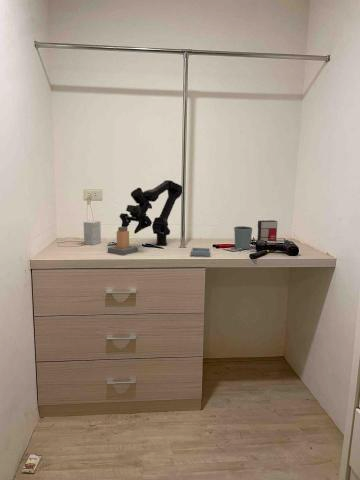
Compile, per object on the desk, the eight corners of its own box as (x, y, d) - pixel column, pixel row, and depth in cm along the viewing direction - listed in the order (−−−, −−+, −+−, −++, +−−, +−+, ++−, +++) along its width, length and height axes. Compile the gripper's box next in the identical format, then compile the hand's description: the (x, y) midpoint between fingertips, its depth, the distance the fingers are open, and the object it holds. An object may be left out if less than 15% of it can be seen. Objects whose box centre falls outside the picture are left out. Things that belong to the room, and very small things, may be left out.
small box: (92, 242, 226) (91, 220, 224) (101, 243, 224) (100, 221, 222) (83, 244, 219) (83, 221, 217) (92, 245, 217) (92, 222, 214)
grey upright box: (259, 246, 222) (261, 221, 219) (256, 245, 226) (257, 220, 223) (276, 246, 225) (278, 221, 222) (273, 244, 229) (274, 220, 226)
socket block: (122, 250, 204) (122, 244, 203) (138, 253, 197) (138, 247, 197) (107, 254, 195) (107, 247, 194) (123, 257, 188) (123, 250, 188)
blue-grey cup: (253, 247, 219) (254, 227, 217) (248, 250, 210) (249, 229, 208) (236, 245, 224) (237, 225, 221) (230, 248, 215) (231, 227, 213)
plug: (123, 250, 199) (123, 226, 197) (129, 251, 197) (129, 227, 194) (116, 252, 195) (116, 227, 193) (122, 253, 193) (122, 228, 190)
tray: (191, 252, 204) (191, 247, 203) (210, 252, 203) (210, 248, 202) (190, 256, 194) (190, 251, 193) (210, 257, 193) (210, 252, 193)
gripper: (121, 198, 204) (107, 220, 197) (148, 200, 193) (134, 223, 186) (131, 211, 211) (117, 233, 204) (157, 214, 201) (144, 237, 194)
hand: (127, 232), depth 197 cm, fingers open, 9 cm apart
